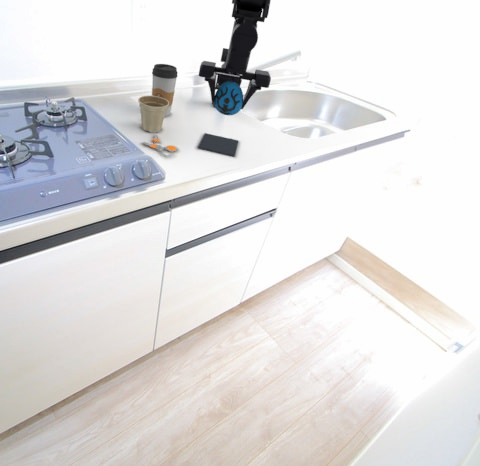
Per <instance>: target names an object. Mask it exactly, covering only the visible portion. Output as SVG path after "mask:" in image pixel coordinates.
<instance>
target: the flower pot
mask: <svg viewBox="0 0 480 466" xmlns="http://www.w3.org/2000/svg"><path fill="white" fill-rule="evenodd" d="M137 102H138V103H139V108H140V121H141V129H142V130H143V131H147V132H149V133H158V132H160V131H161V130H162V127H163V124H164V120H165V117H164V116H165V112H166V110H167V107H168V106H169V101H168V100H166V99H164V98H161V97H157V96H152V95H142V96H140V97H138V98H137Z"/></svg>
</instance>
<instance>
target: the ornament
mask: <svg viewBox="0 0 480 466" xmlns="http://www.w3.org/2000/svg"><path fill="white" fill-rule="evenodd" d="M234 80H235V79H234V78H232V80H231V81H228V82H225V83H223V84H222V85H221V86H220V87H219V88H218V89H216V91H215V99H214V104H213V106H214V105H215V107H214V108H215V110H216V111H218V113H219V114H222V115H224V116H234V115H236V114H238V113H240V111H241V110H242V109H241V108H242V104H243V100H244V93H243V90H242V88H241V85H240V86H239V85H238V84H237V83H235V82H234Z"/></svg>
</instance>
